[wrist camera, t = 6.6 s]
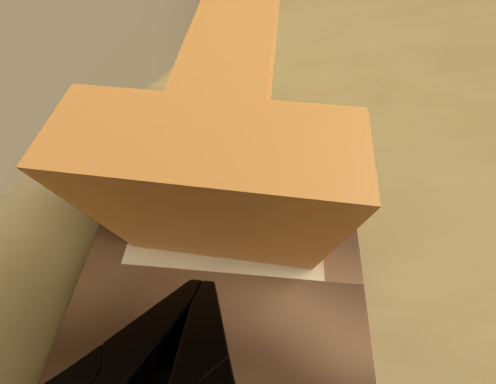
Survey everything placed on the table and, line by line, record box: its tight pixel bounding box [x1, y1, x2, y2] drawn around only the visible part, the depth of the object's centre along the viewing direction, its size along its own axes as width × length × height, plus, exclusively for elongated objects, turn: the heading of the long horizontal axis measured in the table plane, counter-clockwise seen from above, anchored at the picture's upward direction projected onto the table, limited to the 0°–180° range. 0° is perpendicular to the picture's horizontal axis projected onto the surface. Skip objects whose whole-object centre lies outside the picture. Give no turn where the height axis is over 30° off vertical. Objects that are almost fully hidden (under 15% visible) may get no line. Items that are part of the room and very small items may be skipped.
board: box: [38, 224, 376, 384], centre depth 15 cm, size 21×15×2 cm
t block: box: [16, 0, 381, 269], centre depth 13 cm, size 10×10×8 cm
